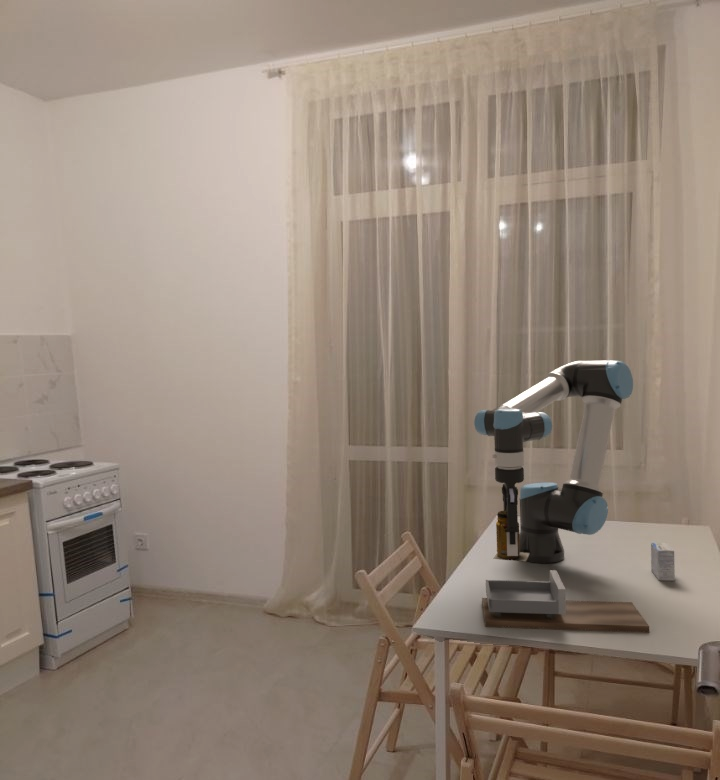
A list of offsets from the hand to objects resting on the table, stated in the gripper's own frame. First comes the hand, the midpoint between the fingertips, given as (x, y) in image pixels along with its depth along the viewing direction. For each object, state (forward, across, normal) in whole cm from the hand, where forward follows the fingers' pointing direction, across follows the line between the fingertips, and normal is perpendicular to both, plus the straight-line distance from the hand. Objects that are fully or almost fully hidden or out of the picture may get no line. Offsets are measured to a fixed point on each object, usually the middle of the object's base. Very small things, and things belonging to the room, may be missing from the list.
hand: (511, 551), depth 169 cm
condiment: (+2, 0, 0) cm, 2 cm away
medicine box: (+12, -16, +44) cm, 48 cm away
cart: (+9, +15, +1) cm, 18 cm away
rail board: (+11, +16, +10) cm, 22 cm away
